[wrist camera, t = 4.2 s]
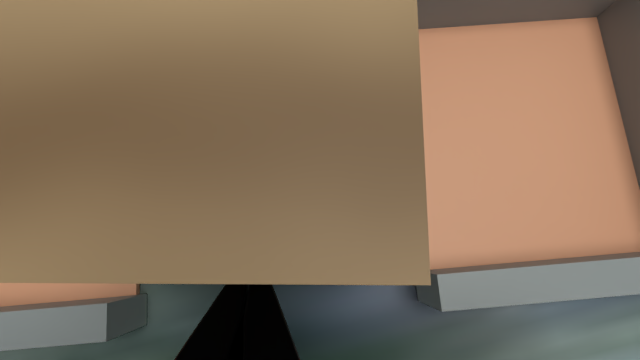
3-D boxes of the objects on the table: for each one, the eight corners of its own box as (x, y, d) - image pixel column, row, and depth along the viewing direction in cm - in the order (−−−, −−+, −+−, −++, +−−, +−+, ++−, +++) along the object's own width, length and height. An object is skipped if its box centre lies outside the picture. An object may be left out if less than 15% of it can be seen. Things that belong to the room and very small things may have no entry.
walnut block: (358, 265, 16) (430, 285, 6) (165, 264, 16) (-89, 282, 6) (354, -47, 19) (398, -384, 9) (191, -50, 18) (51, -393, 9)
